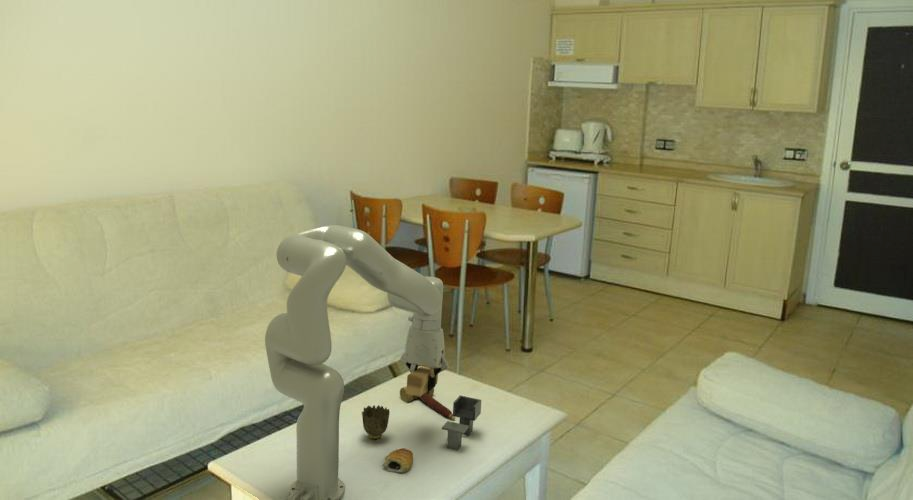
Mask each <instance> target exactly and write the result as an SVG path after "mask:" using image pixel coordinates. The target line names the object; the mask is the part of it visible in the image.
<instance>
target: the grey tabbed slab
mask: <svg viewBox="0 0 913 500" xmlns="http://www.w3.org/2000/svg"><path fill="white" fill-rule="evenodd" d="M467 429H468V425H463V424H459V422H458V423H457V422H455V421H454V422H453V421H450V420H447V421H446V422H445V423H444V425H442V426H441V430H443V431H447V438H446V449H448V450H452V451H457V452H458V450H460V448H461V447H462V442H463V435H462V434H464V432H465V431H466V430H467Z"/></svg>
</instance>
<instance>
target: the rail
mask: <svg viewBox="0 0 913 500" xmlns="http://www.w3.org/2000/svg"><path fill="white" fill-rule="evenodd" d="M439 367H440V365H439V366H438V368H439ZM429 376H430V369H429V367H425V366H419V367H418V369H417V370H415V371H413V372H412V373H411V372H409V374H407V377H406V378H407V379H406V387H407V388H406V394H411V395H415V396H421V395H423V394H424V393H425V392H427V391H428V378H429ZM438 378H439V373H438V374H437V375H436V385H437V384H438Z"/></svg>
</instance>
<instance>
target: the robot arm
mask: <svg viewBox="0 0 913 500" xmlns="http://www.w3.org/2000/svg"><path fill="white" fill-rule="evenodd" d="M276 261H277V264H278V266H280V268H282V270H284V271H286V272H287V273H289V274H294V275H297V276H301V277H299V279H298V280H297V282H296V284H295V285H294V286H293V288H292V289H291V291H290V292H289V294H288V296H287V299H286V312H283V313H279V314H277V315H276V316H274V317H273V318H272V319H271V320H270V322H269V324H268V326H267V328H266V332H265V336H264V342H265V344H264V346H265V352H266V356H267V362H268V368H269V371H270V372H269V373H270V377H271V378H270V379H271V381H272V384H273V387H274V388H275V389H276V391H278V392H279V393H280V394H282V395H284V396H286V397H288V398H290V399H293V400H295V401H297V402H299V403H301V404H302V405H303V409H302V411H301V413H300V414H299V416H298V418H297V421H296V480H295V481H294V482H293V483H292V484H291V485H290V488H289V495H288V496H287V498H286V500H341V498H343V496H344V495H345V492H346V485H345V482H344V481H343V480H342V479H340V478H339V465H340V464H339V459H340V458H339V457H340V455H339V454H340V453H339V452H340V449H339V448H340V446H339V445H340V413H341V412H340V411H341V404H342V402H343V401H342V400H343V397H344V391H345V380H344V378H343V376H342V375H341V373H340V372H339V371H338V370H337V369H334V368H333V367H331V366H329V365H327V364H324V363H325V362H327V361H328V359H329V358H330V356H331V353H332V350H333V349H332V347H333V346H332V335H331V329H330V321H329V313H328V300H329V299H328V298H329V295H330V293H331V291H332V290H333V288H334V287H335V285H336V283H337V282H338V281H339V280H340V278H341V277H342V276H343V273H344V271H345V269H346V266H348V267H349V268H350V269H351V270H352V271H354V272H355V273H356V274H357V275H359V276H360V277H361V278H362V279H363V280H364V281H366V282H367V283H368V284H369V285H370V286H372V287H374V288H376V289H377V290H379V291H382V292H384V293H386V294H387V296H386V297H387V301H388V303H389V304H390V305H391V306H393V307H394V308H396V309H399V310H402V311H405V312H409V313H413V314H412V315H409V316H408V319H407V320H408V321H410V322H411V325H410V326H409V328H408V331H407V336H406V342H405V348H404V353H403V354H402V355H401V356H400V361H402V362H403V363H404V364H405V365H406V367H407V369H408V370H409V373H412V372H413V371H415V370H417V369H418V368H419V367H421V366H425V367H429V369H430V376H429V378H428V391H431V390H432V389H433V388H434V389H435V388H436V386H437V384H436V375H437V374H438V375H439V374H440V373H441V372H443V371H446V370H448V369H449V368H450V364H449V363H448V361H447V359H446V357H445V336H444V335H445V334H444V330H443V328H442V313H443V312H442V311H443V299H444V298H443V296H444V283H443V281H442V279H440V278H438V277H436V276H429V275H427V276H424V275H422V274H421V273H419V271H418V272H417V271H416V270H415V269H412V268H411V267H410V266H408V265H406V264H405V263H403V262H401V261H400V260H398V259H396V258H394V257H393V255H391V254H390V253H389V252H388V251H387V250H386V249H384V247H383V246H382V245H381V244H380V243H378V242H377V241H376V239H374V238H373V236H371V235H370V234H368V232H366V231H364V230H361V229H358V228H353V227H349V226H343V225H339V224H328V225H324V226H319V227H318V226H317V227H315V228H312V229H308V230H303V231H298V232H295V233H293V234H290V235H288V236H287V237H285V238H284V239H283V240H282V241H281V242H280V243H279V245H278V247H277V250H276ZM440 364H441V365H440ZM438 366H439V368H438Z"/></svg>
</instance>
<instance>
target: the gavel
mask: <svg viewBox="0 0 913 500" xmlns="http://www.w3.org/2000/svg"><path fill="white" fill-rule="evenodd" d="M406 388H407V386H403V387H400V390H399V397H400V399H401V400H402V401H403V402H404V403H409V402H412V401H413V400H416V399H420V400H421V401H423V402H424V403H425V404H426V405H427V406H429V407H430V408H431V409H433V410H434V411H435V412H436V413H438V414H440V415H441V416H442V417H444V418H446V419H449V420H451V421H452V420H453V421H455V420H456V417H454V416H453V411H451V410H450V409H449V408H448V407H446V406H445V405H444V404H442V403H441V402H439V401H438V400H436V399H435V398H433V395H434V394H435V387H434V388H433V389H432V390H431V391H427V392H425V393H424V394H423V395H421V396H415V395H411V394H406Z"/></svg>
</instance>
